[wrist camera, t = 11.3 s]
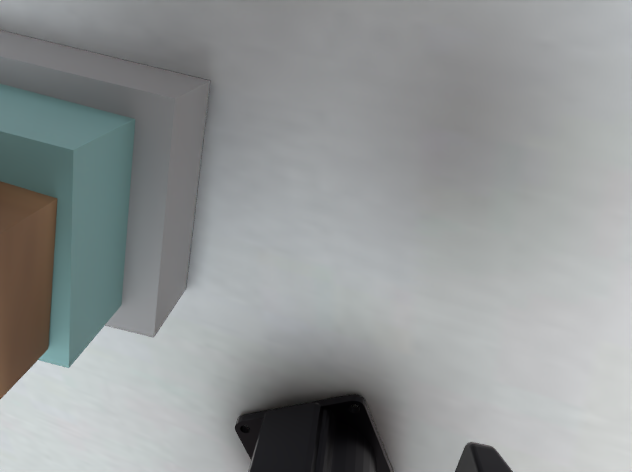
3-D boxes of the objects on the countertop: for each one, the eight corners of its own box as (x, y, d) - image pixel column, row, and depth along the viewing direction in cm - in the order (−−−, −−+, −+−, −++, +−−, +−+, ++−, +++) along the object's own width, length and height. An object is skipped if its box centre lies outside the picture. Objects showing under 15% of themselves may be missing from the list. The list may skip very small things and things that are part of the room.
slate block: (214, 78, 19) (175, 98, 15) (189, 283, 23) (153, 337, 19) (-23, 21, 19) (-117, 27, 15) (-7, 235, 23) (-79, 280, 19)
